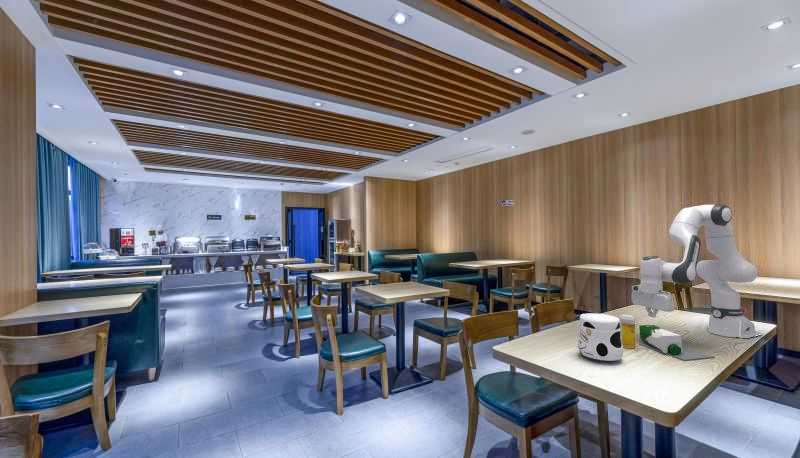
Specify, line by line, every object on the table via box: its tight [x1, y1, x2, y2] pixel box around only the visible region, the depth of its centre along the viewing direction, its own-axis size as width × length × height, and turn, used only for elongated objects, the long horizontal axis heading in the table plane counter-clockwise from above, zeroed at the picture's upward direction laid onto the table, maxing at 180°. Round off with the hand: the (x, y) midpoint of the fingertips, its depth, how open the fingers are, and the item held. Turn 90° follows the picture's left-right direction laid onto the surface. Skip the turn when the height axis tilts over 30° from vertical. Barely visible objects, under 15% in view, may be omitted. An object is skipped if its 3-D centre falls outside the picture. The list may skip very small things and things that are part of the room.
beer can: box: [619, 314, 636, 350], centre depth 164 cm, size 6×6×15 cm
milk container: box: [577, 312, 624, 363], centre depth 151 cm, size 17×17×18 cm
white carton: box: [638, 324, 683, 355], centre depth 160 cm, size 9×9×20 cm
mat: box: [638, 342, 716, 362], centre depth 158 cm, size 16×22×1 cm
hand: (652, 316), depth 169 cm, fingers closed
